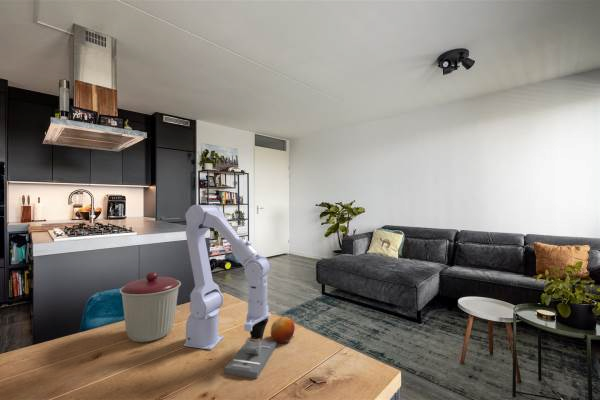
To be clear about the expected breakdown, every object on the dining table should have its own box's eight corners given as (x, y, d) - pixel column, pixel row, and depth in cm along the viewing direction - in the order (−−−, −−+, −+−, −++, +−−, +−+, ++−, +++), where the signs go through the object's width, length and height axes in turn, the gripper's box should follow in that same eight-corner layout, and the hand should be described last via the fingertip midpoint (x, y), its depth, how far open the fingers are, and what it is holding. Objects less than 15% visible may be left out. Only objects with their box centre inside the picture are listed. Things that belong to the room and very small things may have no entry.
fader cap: (245, 352, 77) (245, 339, 77) (248, 348, 79) (248, 335, 79) (258, 354, 76) (258, 341, 76) (261, 350, 78) (261, 337, 79)
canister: (190, 325, 98) (191, 267, 99) (155, 352, 80) (157, 281, 81) (146, 321, 101) (147, 265, 102) (103, 345, 84) (105, 277, 84)
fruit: (297, 342, 84) (284, 319, 85) (276, 353, 85) (264, 330, 86) (302, 330, 92) (290, 309, 93) (283, 340, 93) (271, 319, 94)
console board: (224, 373, 70) (224, 364, 70) (249, 342, 86) (249, 335, 86) (257, 378, 68) (257, 369, 68) (276, 346, 84) (276, 339, 84)
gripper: (261, 309, 73) (261, 360, 72) (277, 292, 87) (277, 334, 87) (237, 306, 74) (236, 356, 74) (257, 290, 88) (256, 332, 88)
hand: (257, 344), depth 80 cm, fingers closed
